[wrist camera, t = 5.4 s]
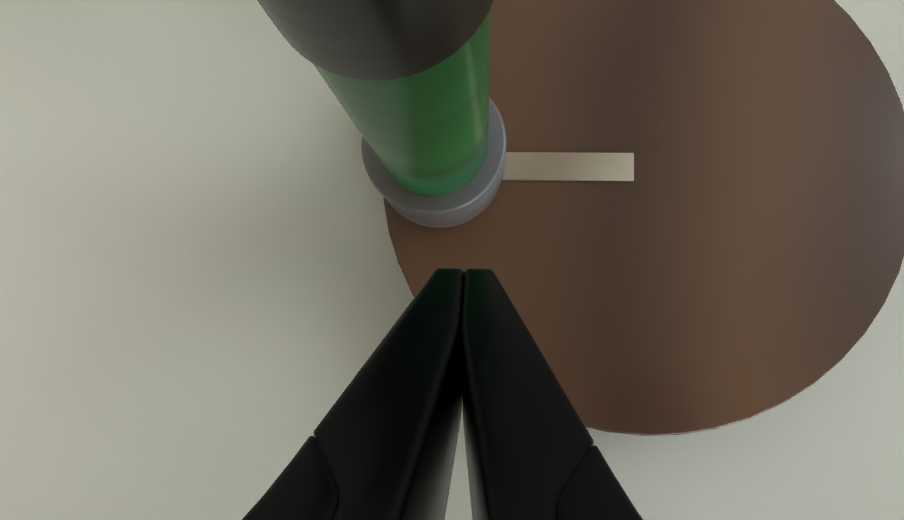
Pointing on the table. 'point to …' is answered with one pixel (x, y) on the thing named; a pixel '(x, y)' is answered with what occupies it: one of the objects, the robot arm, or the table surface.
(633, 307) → the disc
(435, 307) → the robot arm
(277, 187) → the table surface
